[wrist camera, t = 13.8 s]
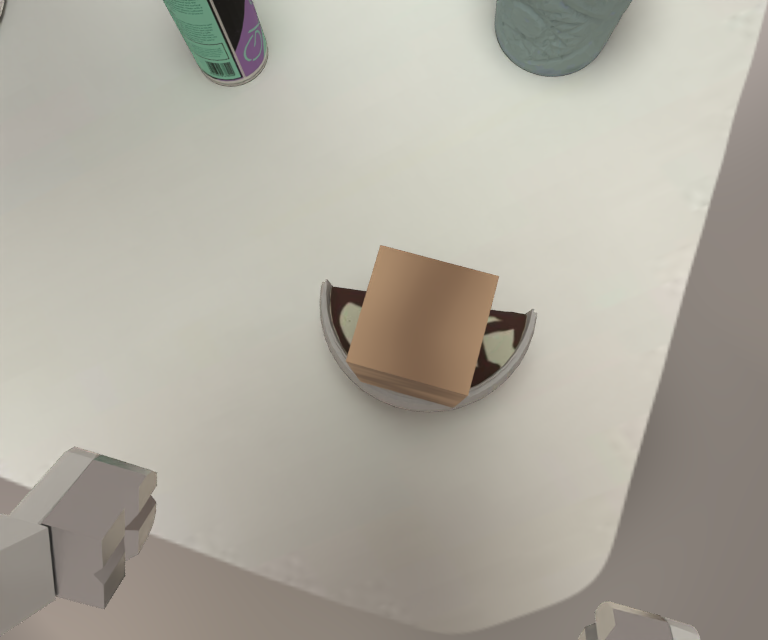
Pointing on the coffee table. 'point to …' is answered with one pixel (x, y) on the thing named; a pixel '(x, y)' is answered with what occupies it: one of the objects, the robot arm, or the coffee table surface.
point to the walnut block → (421, 326)
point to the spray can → (222, 38)
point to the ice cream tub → (493, 367)
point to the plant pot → (555, 32)
